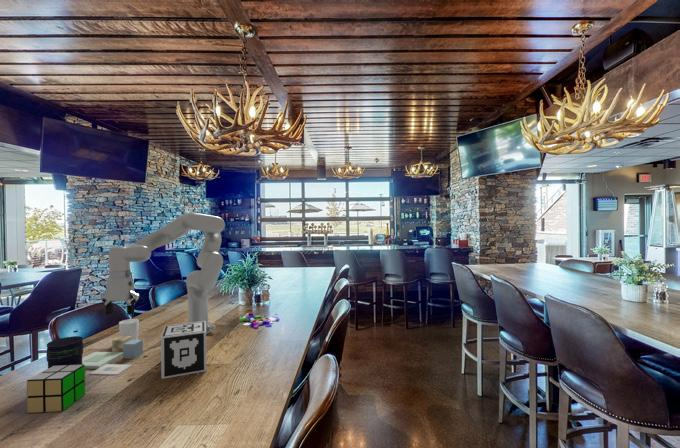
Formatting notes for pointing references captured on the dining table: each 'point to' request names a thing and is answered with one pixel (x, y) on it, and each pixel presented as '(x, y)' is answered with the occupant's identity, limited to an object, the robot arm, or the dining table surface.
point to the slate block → (132, 349)
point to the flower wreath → (258, 320)
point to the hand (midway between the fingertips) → (120, 313)
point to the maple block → (120, 343)
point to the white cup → (129, 328)
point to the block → (183, 349)
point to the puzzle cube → (55, 388)
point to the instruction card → (111, 369)
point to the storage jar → (65, 351)
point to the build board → (100, 359)
